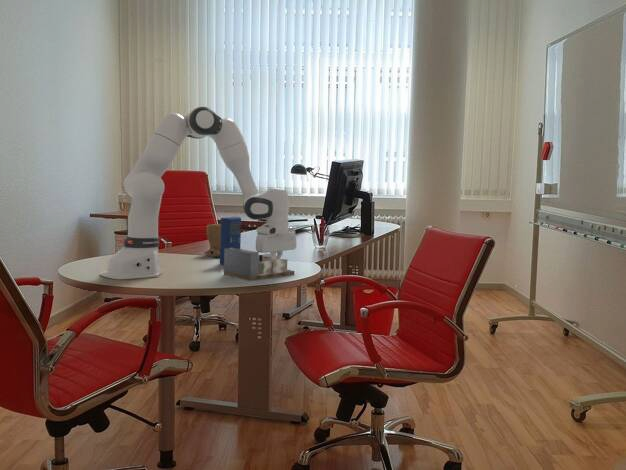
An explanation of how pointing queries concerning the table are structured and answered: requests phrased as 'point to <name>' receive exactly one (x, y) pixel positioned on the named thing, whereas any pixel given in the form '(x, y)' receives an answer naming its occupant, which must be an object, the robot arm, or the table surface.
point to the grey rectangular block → (241, 262)
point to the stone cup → (214, 240)
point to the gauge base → (267, 270)
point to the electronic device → (230, 234)
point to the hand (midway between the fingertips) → (276, 262)
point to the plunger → (267, 257)
